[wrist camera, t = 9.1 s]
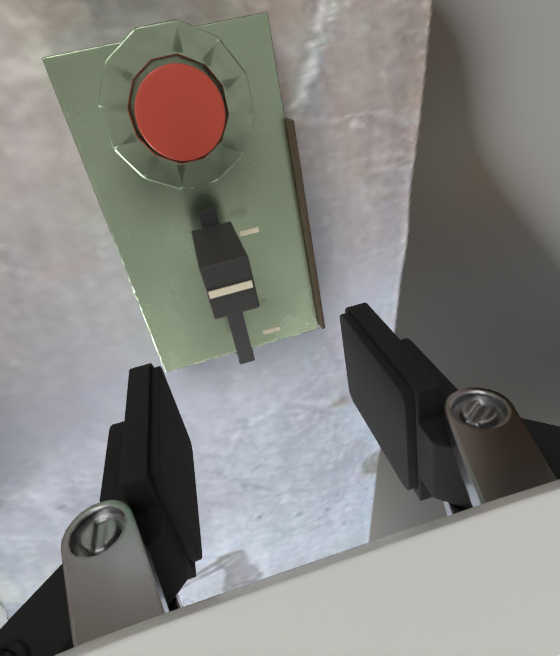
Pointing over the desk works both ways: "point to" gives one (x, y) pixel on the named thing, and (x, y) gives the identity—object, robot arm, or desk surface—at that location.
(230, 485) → the desk surface
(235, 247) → the slider
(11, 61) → the desk surface
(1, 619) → the mug
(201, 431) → the desk surface
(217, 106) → the power button
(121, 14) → the desk surface
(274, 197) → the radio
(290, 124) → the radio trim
